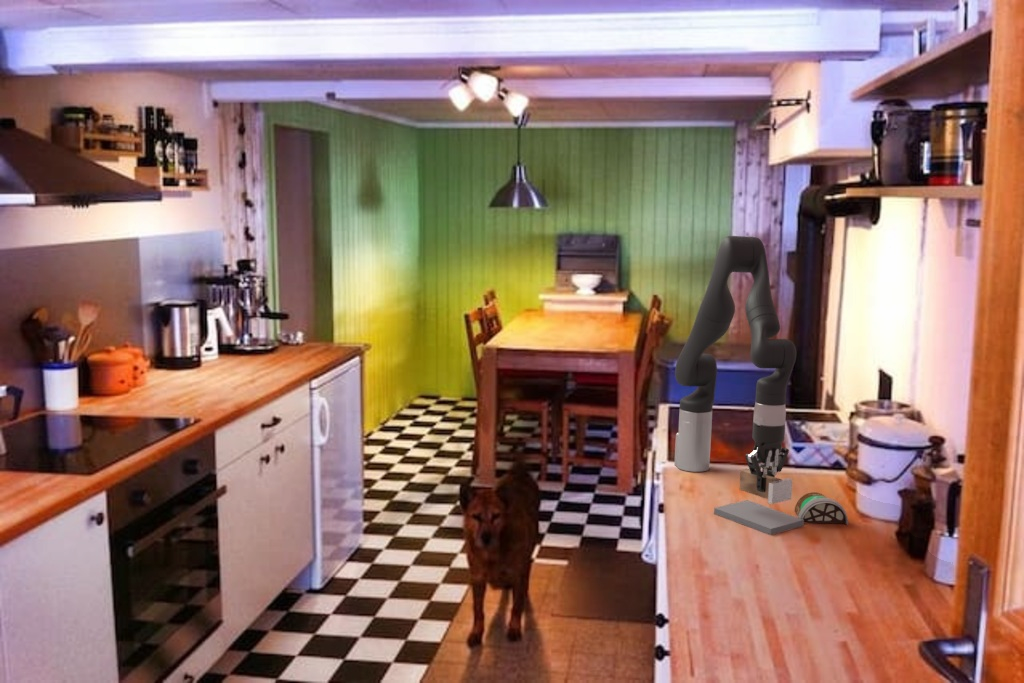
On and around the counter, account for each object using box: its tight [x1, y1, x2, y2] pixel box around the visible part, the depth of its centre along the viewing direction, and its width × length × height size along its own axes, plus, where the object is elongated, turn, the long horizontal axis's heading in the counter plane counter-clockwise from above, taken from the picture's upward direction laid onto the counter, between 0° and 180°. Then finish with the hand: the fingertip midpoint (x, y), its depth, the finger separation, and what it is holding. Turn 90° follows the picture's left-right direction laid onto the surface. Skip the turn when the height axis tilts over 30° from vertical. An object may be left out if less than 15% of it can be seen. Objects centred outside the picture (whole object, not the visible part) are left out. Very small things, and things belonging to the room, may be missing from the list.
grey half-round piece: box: [794, 491, 849, 526], centre depth 255 cm, size 12×6×10 cm
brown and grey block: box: [739, 468, 793, 505], centre depth 251 cm, size 12×7×5 cm, turn 36°
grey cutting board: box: [713, 499, 805, 536], centre depth 253 cm, size 18×12×2 cm, turn 36°
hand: (765, 490), depth 251 cm, fingers closed on brown and grey block
